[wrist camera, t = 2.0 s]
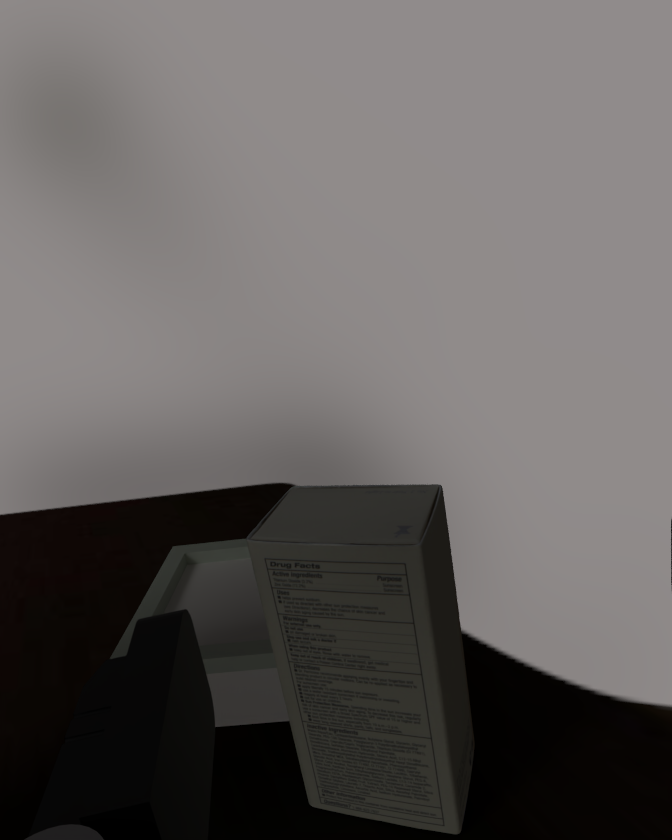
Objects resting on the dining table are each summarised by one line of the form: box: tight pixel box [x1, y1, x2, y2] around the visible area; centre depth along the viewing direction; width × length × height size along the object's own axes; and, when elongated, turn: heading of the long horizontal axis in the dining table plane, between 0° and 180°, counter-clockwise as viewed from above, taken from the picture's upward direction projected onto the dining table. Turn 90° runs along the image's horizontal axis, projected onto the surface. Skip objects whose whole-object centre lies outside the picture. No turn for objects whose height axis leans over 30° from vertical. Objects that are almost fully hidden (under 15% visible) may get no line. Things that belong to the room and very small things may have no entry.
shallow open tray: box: [110, 539, 289, 727], centre depth 34 cm, size 11×11×4 cm
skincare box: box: [246, 485, 475, 834], centre depth 24 cm, size 6×4×12 cm
